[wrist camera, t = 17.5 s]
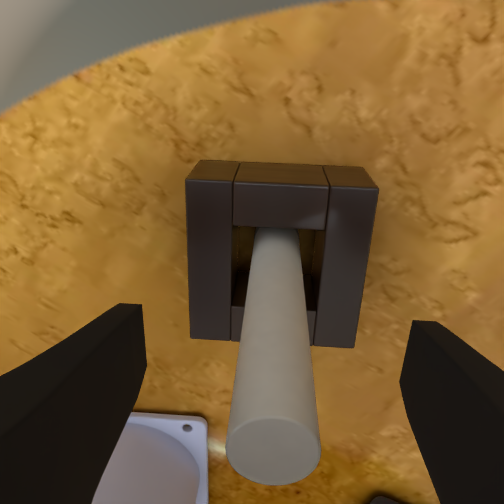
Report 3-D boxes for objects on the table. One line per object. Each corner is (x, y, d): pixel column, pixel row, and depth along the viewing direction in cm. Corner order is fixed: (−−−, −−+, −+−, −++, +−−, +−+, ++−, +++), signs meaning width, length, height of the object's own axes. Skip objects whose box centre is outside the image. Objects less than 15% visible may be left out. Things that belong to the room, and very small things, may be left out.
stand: (202, 300, 20) (189, 339, 17) (199, 159, 17) (184, 178, 14) (343, 308, 19) (354, 349, 17) (363, 166, 17) (380, 187, 14)
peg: (254, 253, 19) (223, 483, 8) (255, 212, 18) (224, 412, 8) (297, 255, 18) (317, 490, 8) (300, 215, 18) (326, 420, 8)
